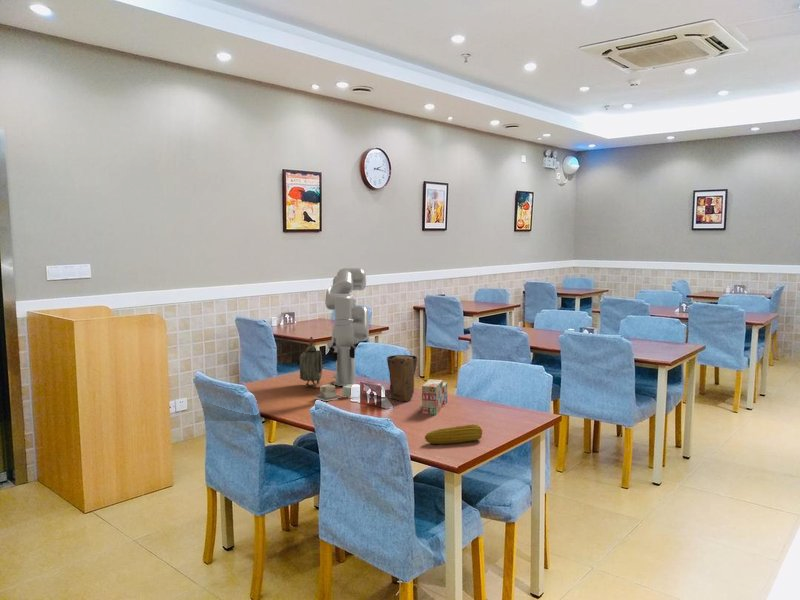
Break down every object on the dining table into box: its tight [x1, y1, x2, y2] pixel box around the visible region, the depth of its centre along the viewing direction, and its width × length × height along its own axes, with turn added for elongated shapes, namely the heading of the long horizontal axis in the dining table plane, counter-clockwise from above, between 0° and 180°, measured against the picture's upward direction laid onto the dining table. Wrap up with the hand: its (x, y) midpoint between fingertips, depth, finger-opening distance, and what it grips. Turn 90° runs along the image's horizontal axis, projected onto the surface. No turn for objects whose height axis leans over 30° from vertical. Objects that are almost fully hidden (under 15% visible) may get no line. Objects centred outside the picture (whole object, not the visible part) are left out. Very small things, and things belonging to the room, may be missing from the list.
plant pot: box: [386, 354, 418, 376], centre depth 285 cm, size 15×15×16 cm
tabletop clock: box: [299, 336, 323, 390], centre depth 292 cm, size 14×9×25 cm, turn 0°
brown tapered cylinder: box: [388, 354, 415, 402], centre depth 267 cm, size 11×8×20 cm
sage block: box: [342, 385, 352, 397], centre depth 272 cm, size 5×5×5 cm
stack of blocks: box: [421, 379, 448, 416], centre depth 253 cm, size 21×6×12 cm, turn 163°
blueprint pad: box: [314, 393, 341, 402], centre depth 269 cm, size 8×8×2 cm
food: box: [424, 424, 483, 445], centre depth 208 cm, size 21×6×6 cm, turn 106°
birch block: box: [319, 383, 336, 398], centre depth 268 cm, size 5×5×5 cm
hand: (343, 359), depth 270 cm, fingers open, 9 cm apart
